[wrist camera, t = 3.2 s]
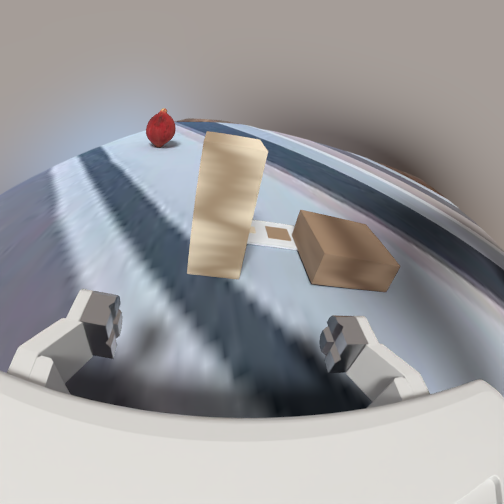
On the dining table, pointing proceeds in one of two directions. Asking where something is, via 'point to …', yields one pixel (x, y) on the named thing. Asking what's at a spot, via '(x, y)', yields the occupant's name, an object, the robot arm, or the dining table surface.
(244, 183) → the pillar
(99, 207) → the dining table surface
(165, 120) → the red rounded piece
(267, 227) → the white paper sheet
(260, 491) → the robot arm
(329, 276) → the plinth
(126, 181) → the dining table surface
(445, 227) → the dining table surface
